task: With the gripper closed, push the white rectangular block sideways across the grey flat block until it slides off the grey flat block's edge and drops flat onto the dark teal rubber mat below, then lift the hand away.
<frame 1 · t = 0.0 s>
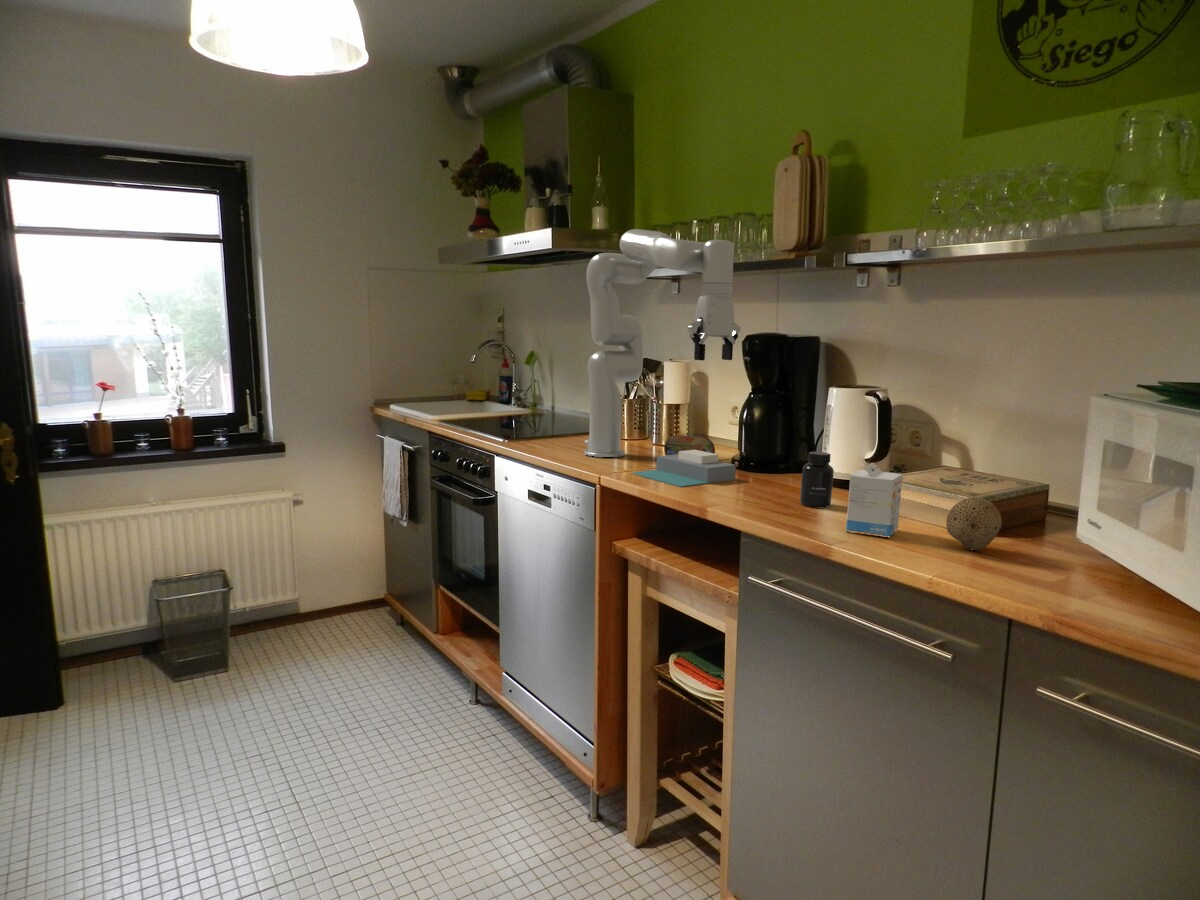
hand: (713, 359, 196), 31 cm above the worktop, tool pointing down, fingers open, 9 cm apart
supplement bottle: (815, 505, 176), on the worktop
white rectangular block: (697, 460, 208), point 4 cm above the worktop, touching grey flat block
ink box: (871, 532, 154), on the worktop
mat: (667, 478, 202), on the worktop
natural sponge: (970, 551, 142), on the worktop
tin: (689, 464, 225), on the worktop
grey flat block: (694, 475, 208), on the worktop
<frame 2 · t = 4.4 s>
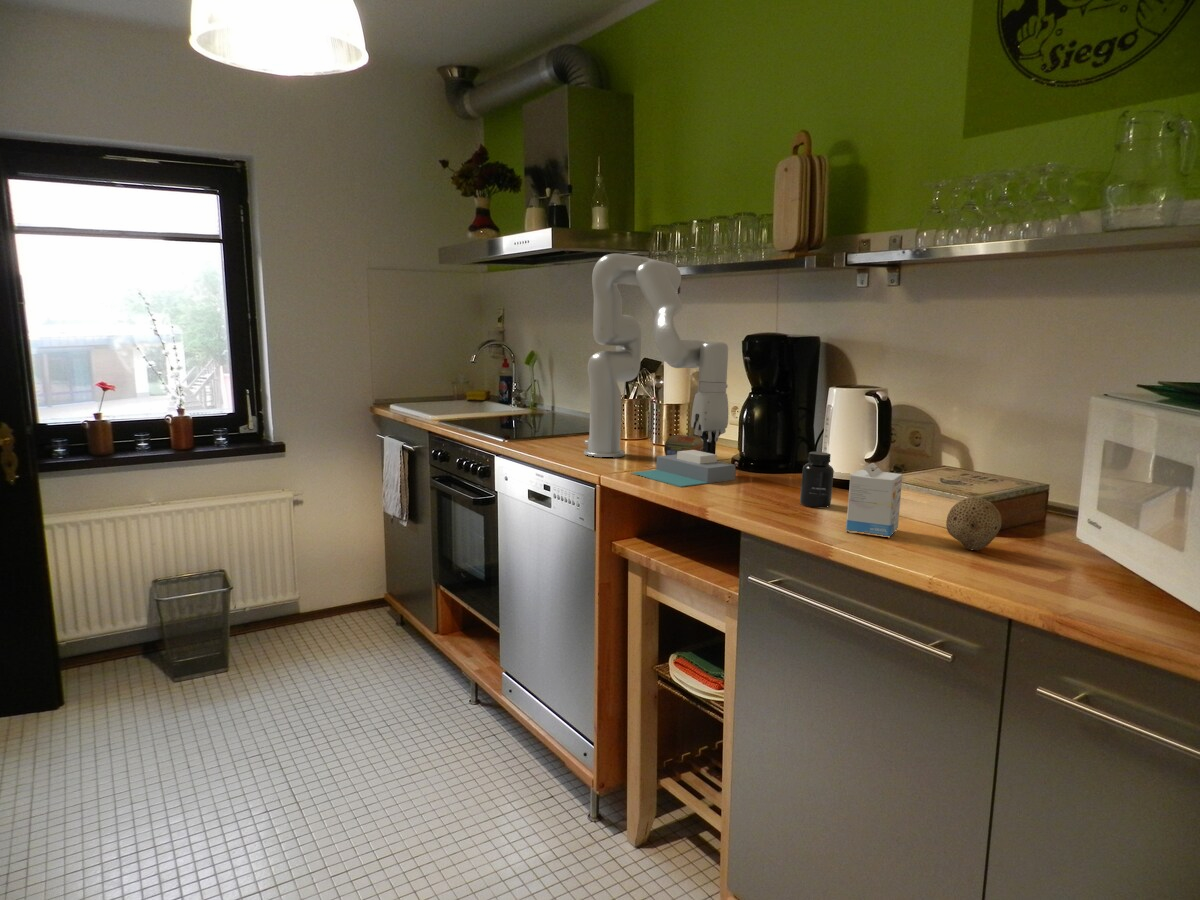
hand: (708, 455, 210), 5 cm above the worktop, tool pointing down, fingers closed
white rectangular block: (696, 460, 207), point 4 cm above the worktop, touching gripper
everything else where it was.
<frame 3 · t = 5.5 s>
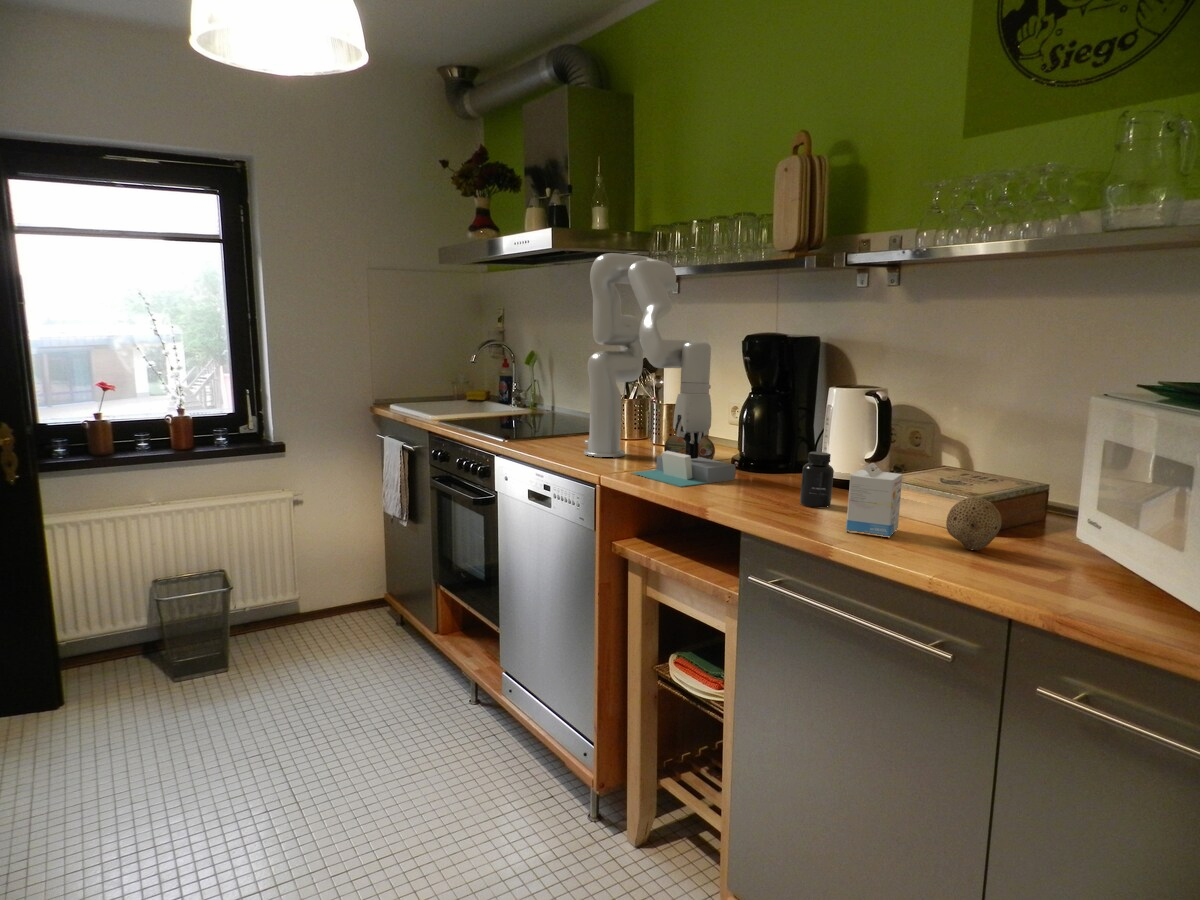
hand: (691, 457, 206), 5 cm above the worktop, tool pointing down, fingers closed
white rectangular block: (679, 464, 203), point 4 cm above the worktop, tilted 101°, touching mat
everything else where it was.
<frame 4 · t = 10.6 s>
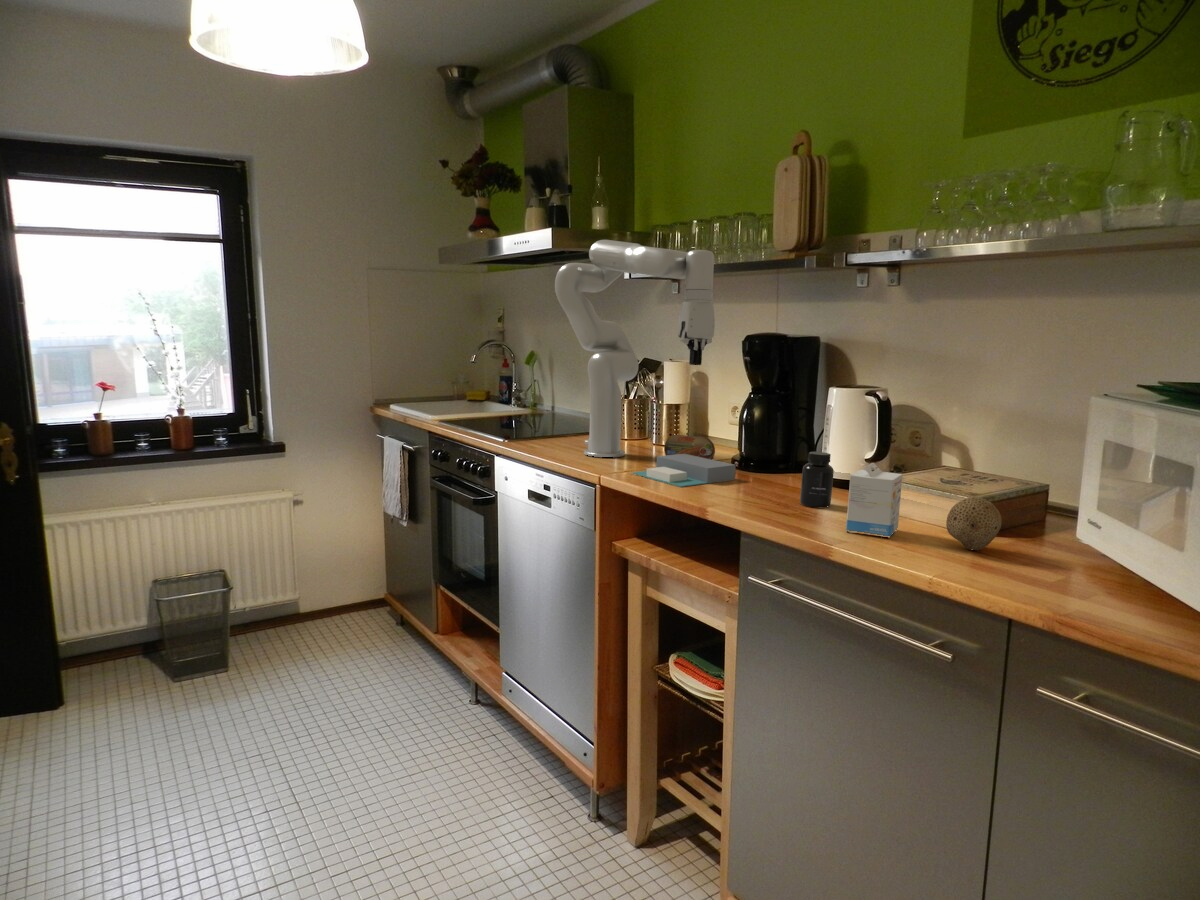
hand: (695, 364, 213), 29 cm above the worktop, tool pointing down, fingers closed
white rectangular block: (666, 470, 201), point 2 cm above the worktop, tilted 180°, touching mat
everything else where it was.
at the end: white rectangular block point 2.3 cm above the worktop; white rectangular block inside the target area (0.8 cm from its centre), point 2.3 cm above the worktop; white rectangular block touching mat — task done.
